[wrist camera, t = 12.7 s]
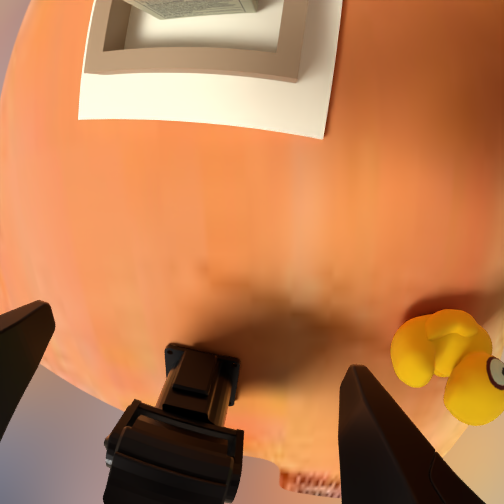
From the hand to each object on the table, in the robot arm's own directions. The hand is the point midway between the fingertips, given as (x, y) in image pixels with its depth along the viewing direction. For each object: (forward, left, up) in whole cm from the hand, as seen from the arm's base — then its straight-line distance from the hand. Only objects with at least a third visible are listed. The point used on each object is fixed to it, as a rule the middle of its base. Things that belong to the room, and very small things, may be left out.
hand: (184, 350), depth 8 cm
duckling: (-7, -17, -13) cm, 23 cm away
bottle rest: (+14, +4, -13) cm, 20 cm away
